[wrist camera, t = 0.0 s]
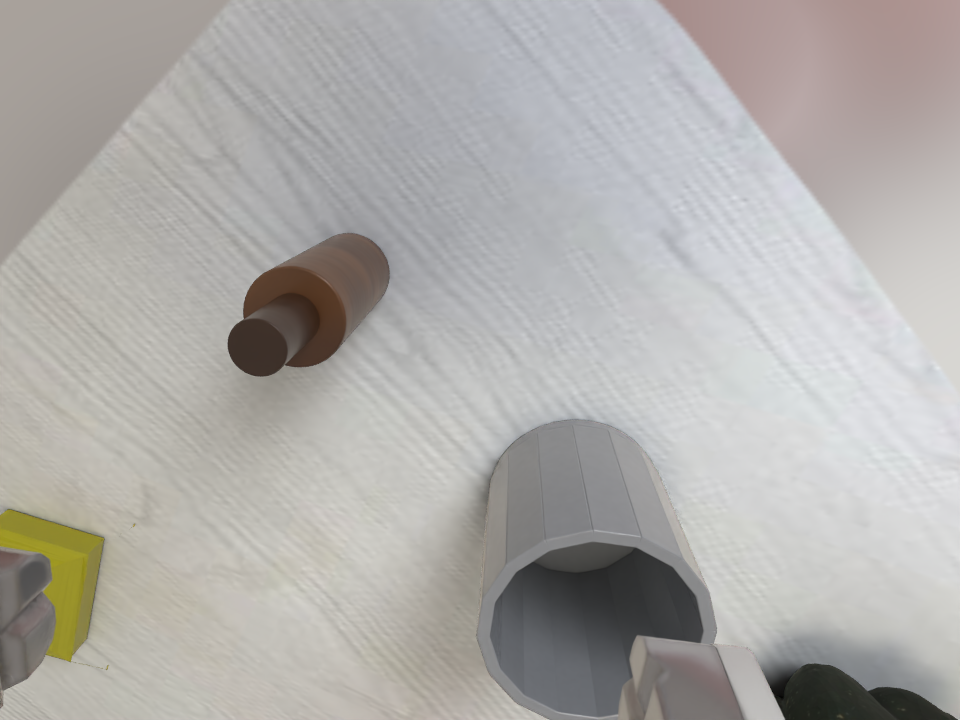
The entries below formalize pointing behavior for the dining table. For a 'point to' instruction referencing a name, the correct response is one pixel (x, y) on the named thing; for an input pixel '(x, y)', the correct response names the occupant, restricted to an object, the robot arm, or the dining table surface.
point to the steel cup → (581, 570)
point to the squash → (849, 699)
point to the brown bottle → (308, 305)
